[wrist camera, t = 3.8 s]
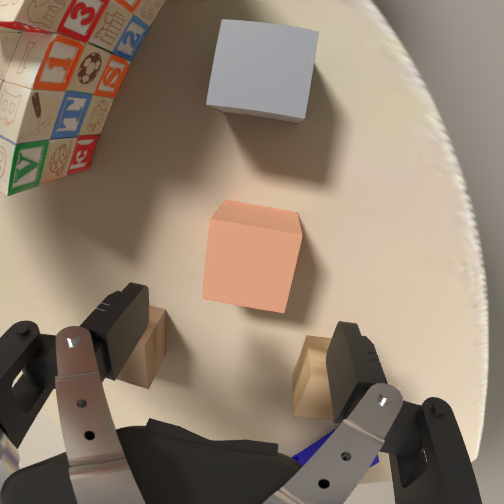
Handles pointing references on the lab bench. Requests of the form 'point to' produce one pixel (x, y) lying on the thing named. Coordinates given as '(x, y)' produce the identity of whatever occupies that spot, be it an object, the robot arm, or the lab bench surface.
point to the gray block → (262, 70)
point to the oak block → (312, 381)
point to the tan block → (147, 352)
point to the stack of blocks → (61, 81)
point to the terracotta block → (251, 255)
